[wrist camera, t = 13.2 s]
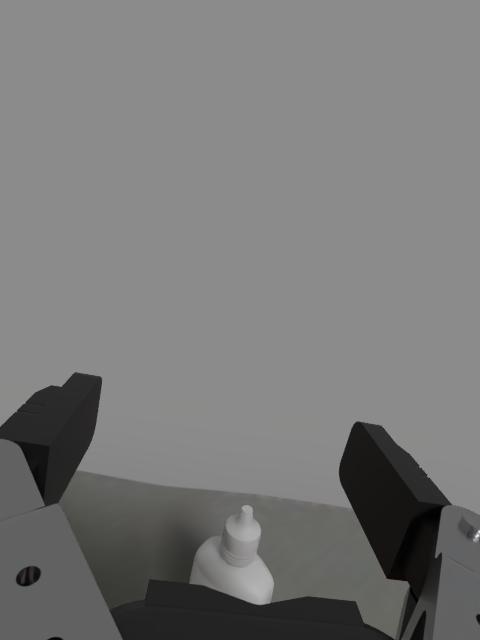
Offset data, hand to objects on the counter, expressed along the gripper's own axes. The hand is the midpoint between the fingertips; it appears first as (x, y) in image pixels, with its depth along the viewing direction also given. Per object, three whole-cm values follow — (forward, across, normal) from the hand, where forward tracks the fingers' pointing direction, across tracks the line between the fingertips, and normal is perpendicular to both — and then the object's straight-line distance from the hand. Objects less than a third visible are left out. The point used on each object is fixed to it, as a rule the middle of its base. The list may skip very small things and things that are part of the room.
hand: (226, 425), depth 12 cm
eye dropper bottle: (+9, -5, +24) cm, 26 cm away
